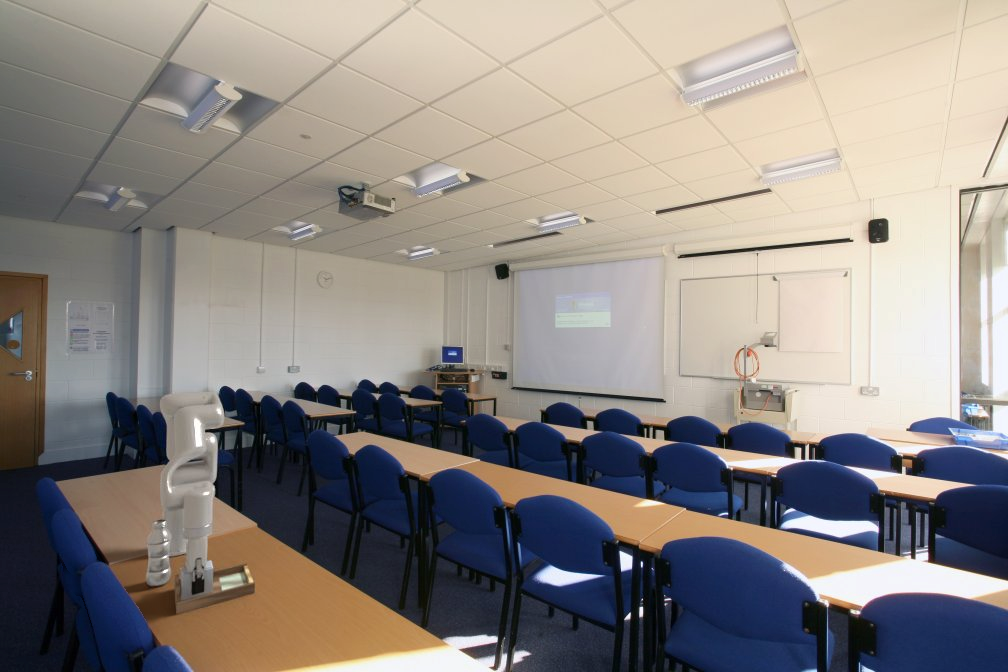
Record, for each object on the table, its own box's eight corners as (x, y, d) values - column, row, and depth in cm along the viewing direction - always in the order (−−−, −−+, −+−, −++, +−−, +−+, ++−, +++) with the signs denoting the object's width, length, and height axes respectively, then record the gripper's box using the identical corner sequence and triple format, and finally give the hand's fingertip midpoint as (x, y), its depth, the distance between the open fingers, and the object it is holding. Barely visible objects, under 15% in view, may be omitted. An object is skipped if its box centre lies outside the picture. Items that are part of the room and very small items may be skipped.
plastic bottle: (157, 590, 147) (159, 526, 147) (139, 587, 148) (141, 524, 148) (176, 579, 153) (177, 518, 153) (158, 577, 154) (160, 516, 154)
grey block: (180, 591, 144) (180, 566, 144) (210, 583, 149) (211, 559, 149) (181, 600, 139) (181, 574, 139) (212, 592, 144) (213, 567, 144)
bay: (174, 589, 147) (174, 573, 147) (246, 571, 159) (246, 556, 159) (176, 614, 135) (176, 597, 135) (254, 592, 147) (254, 576, 147)
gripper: (181, 523, 149) (180, 577, 149) (184, 543, 135) (183, 603, 135) (209, 518, 153) (208, 571, 153) (215, 537, 139) (213, 595, 139)
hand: (196, 586), depth 144 cm, fingers open, 9 cm apart
